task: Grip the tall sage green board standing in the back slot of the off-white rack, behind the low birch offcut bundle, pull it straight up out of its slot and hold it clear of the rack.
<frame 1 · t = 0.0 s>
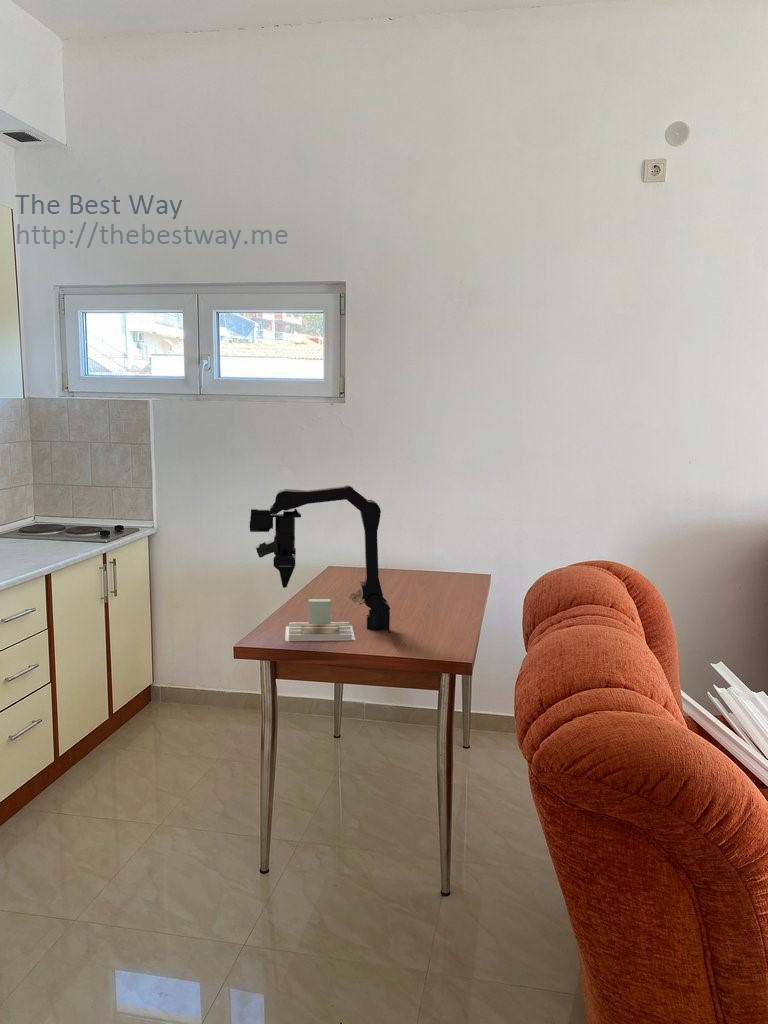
hand: (284, 583, 233), 15 cm above the table, tool pointing down, fingers open, 9 cm apart
wooden fragment: (366, 597, 283), on the table
slot rack: (319, 636, 231), on the table
offcut bundle: (320, 637, 227), point 1 cm above the table, touching slot rack
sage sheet: (319, 629, 235), point 1 cm above the table, touching slot rack
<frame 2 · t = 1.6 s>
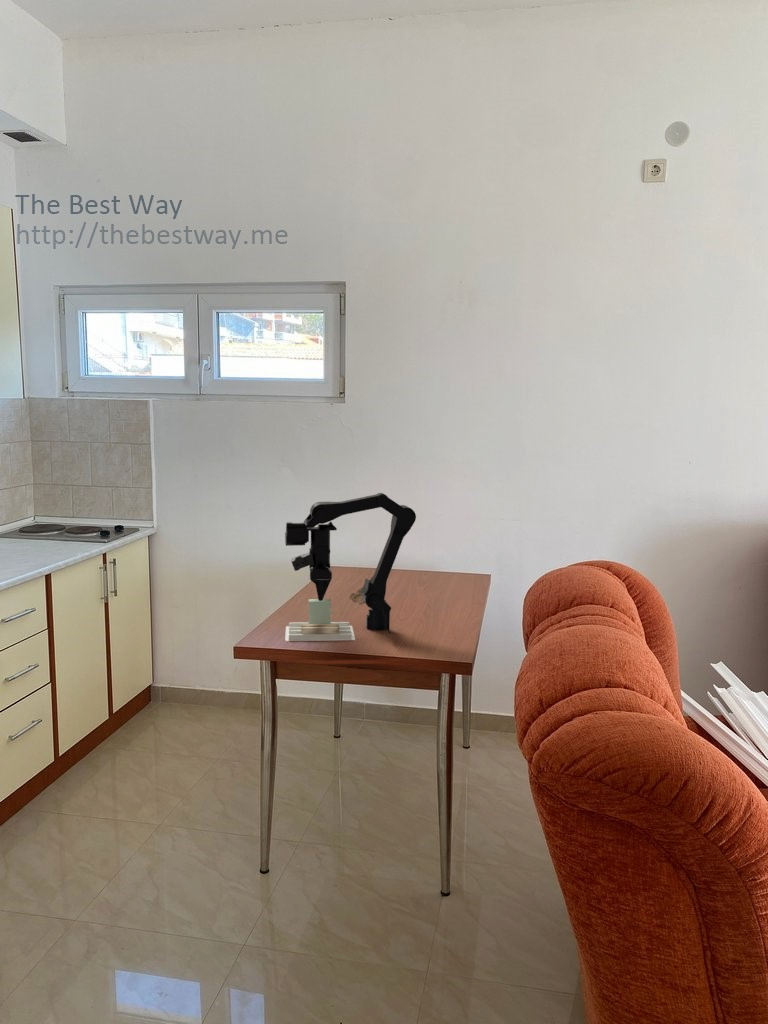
hand: (320, 596, 233), 11 cm above the table, tool pointing down, fingers open, 9 cm apart
nothing on the table moved.
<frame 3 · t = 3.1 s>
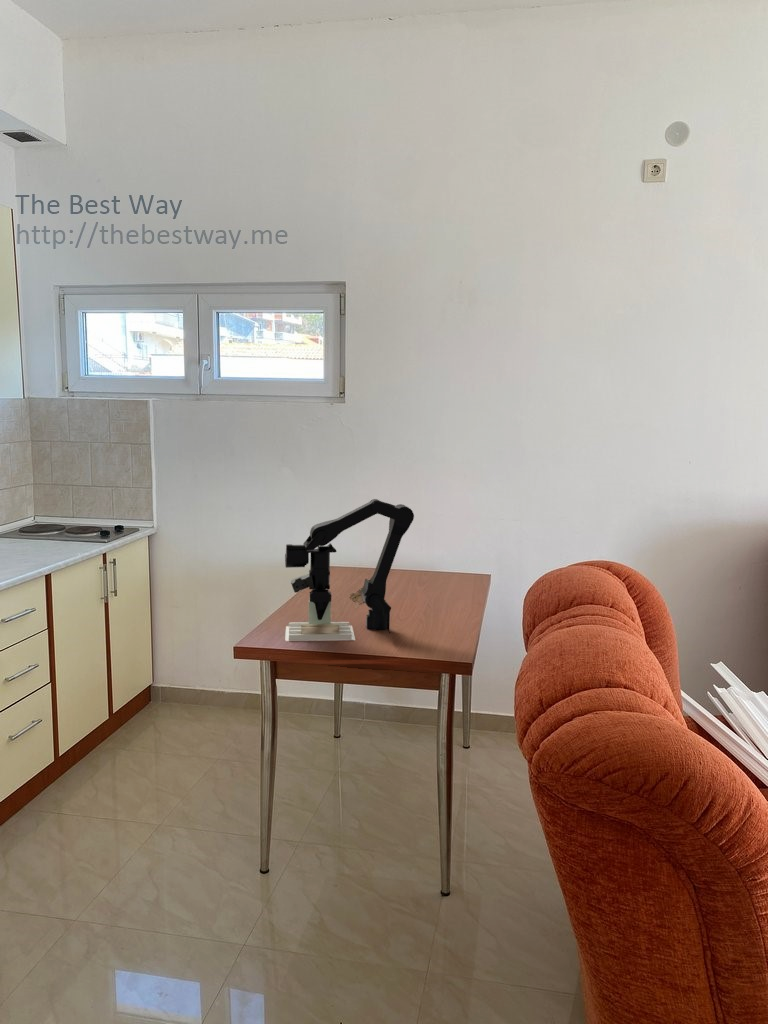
hand: (319, 618, 234), 5 cm above the table, tool pointing down, fingers closed on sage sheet, 3 cm apart
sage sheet: (319, 629, 235), point 1 cm above the table, touching gripper, slot rack
everything else where it was.
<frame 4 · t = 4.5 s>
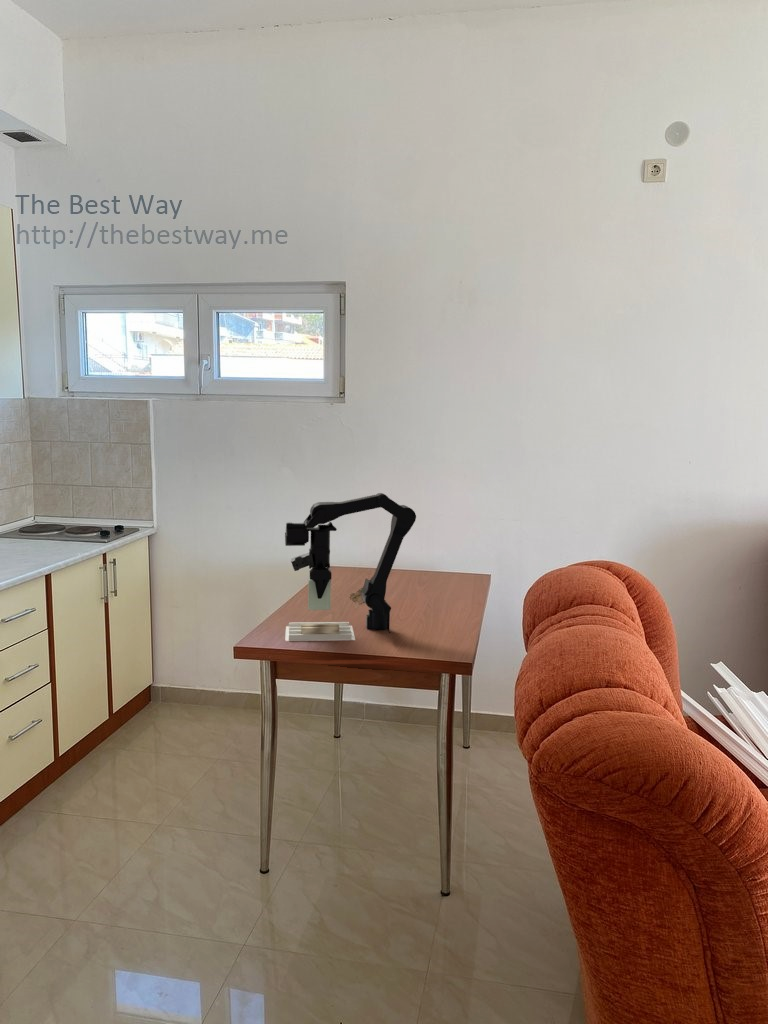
hand: (319, 597, 233), 11 cm above the table, tool pointing down, fingers closed on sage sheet, 3 cm apart
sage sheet: (319, 608, 234), point 7 cm above the table, touching gripper
everything else where it was.
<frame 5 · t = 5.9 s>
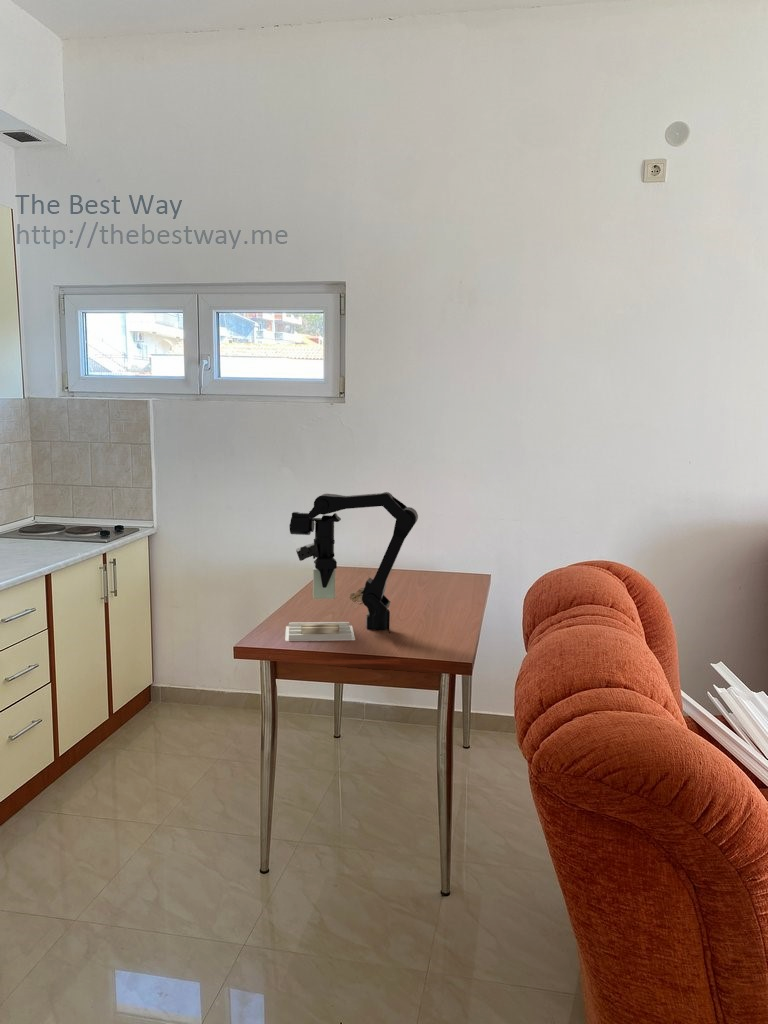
hand: (324, 586, 239), 13 cm above the table, tool pointing down, fingers closed on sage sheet, 3 cm apart
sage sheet: (323, 597, 239), point 9 cm above the table, touching gripper
everything else where it was.
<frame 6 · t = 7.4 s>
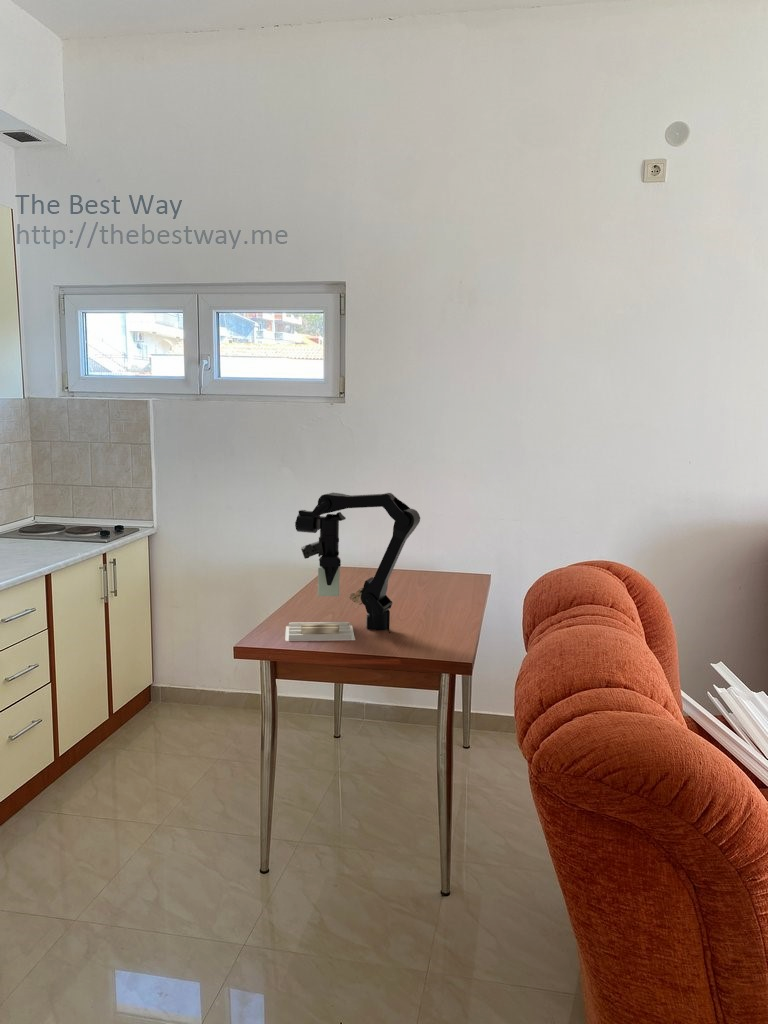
hand: (328, 584, 242), 13 cm above the table, tool pointing down, fingers closed on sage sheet, 3 cm apart
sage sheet: (328, 595, 242), point 9 cm above the table, touching gripper
everything else where it was.
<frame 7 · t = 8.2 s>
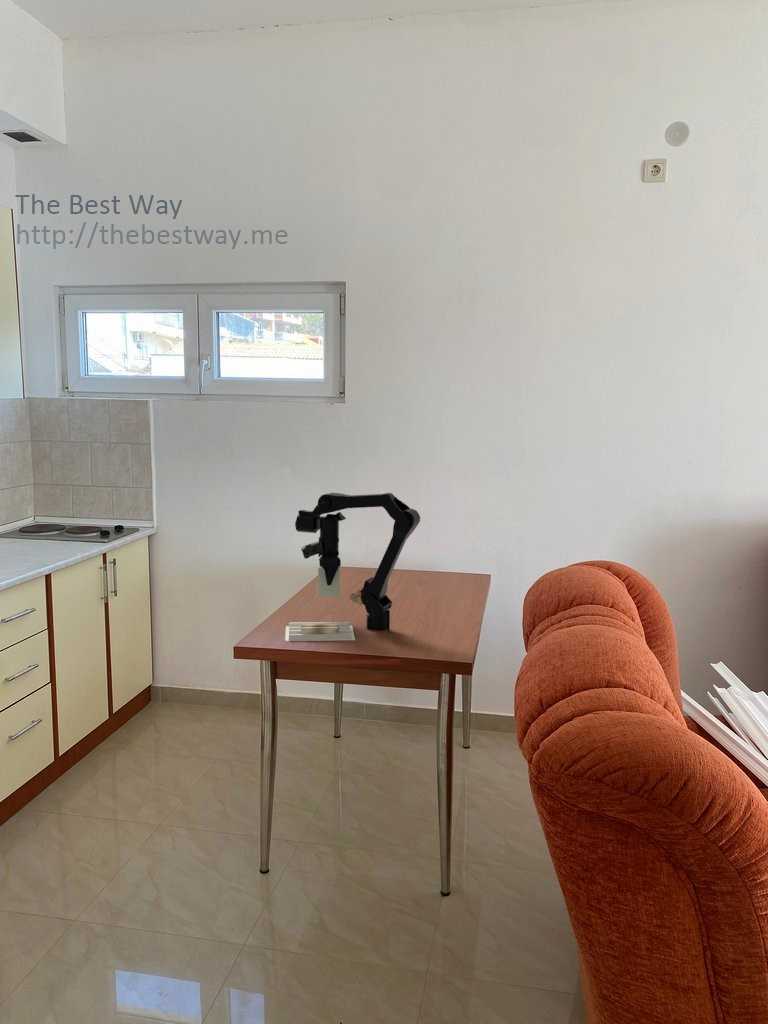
hand: (328, 584, 242), 13 cm above the table, tool pointing down, fingers closed on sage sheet, 3 cm apart
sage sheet: (328, 595, 242), point 9 cm above the table, touching gripper
everything else where it was.
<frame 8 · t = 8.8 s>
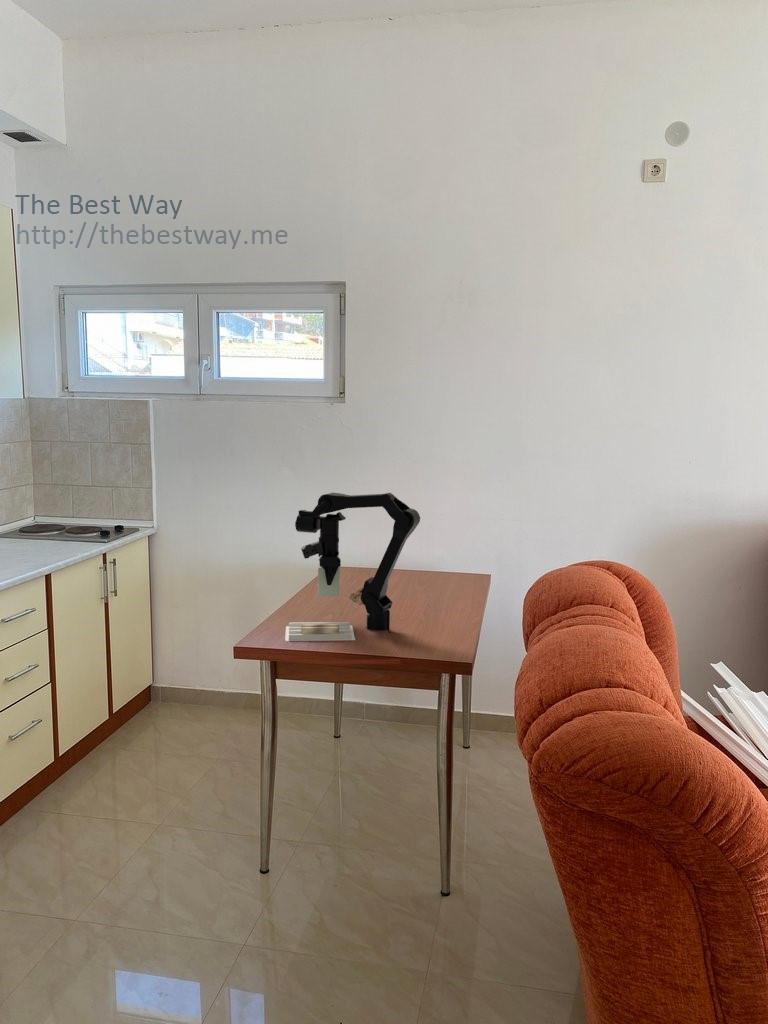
hand: (328, 584, 242), 13 cm above the table, tool pointing down, fingers closed on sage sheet, 3 cm apart
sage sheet: (328, 595, 242), point 9 cm above the table, touching gripper
everything else where it was.
at the end: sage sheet inside the target area (1.4 cm from its centre), point 9.5 cm above the table; the gripper is holding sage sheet; offcut bundle moved 0.0 cm from its start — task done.
